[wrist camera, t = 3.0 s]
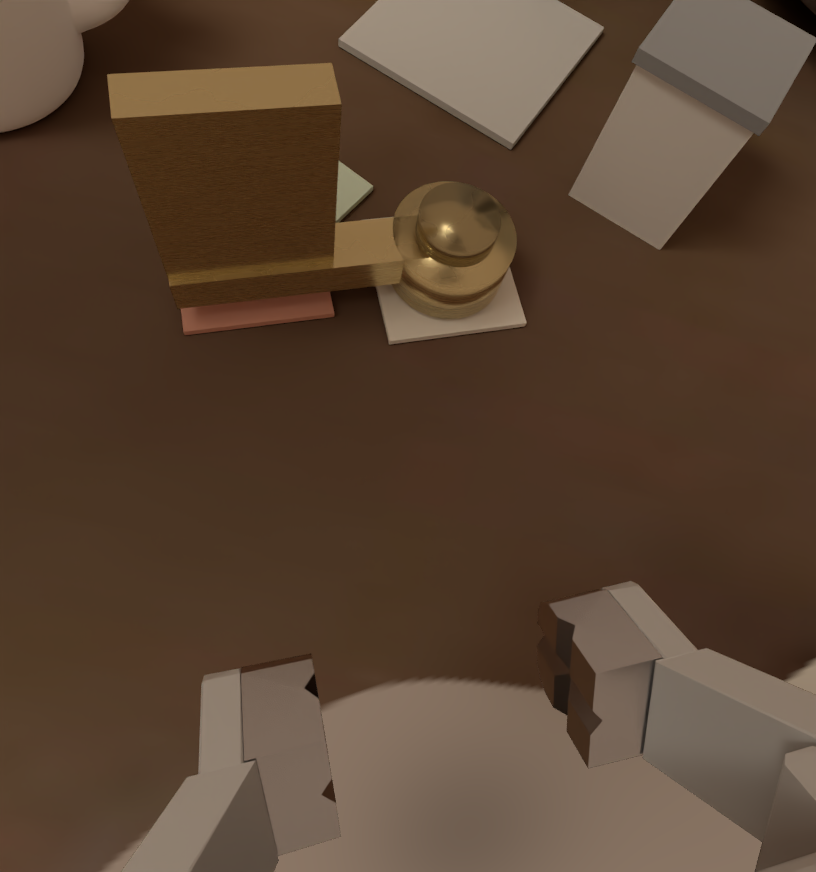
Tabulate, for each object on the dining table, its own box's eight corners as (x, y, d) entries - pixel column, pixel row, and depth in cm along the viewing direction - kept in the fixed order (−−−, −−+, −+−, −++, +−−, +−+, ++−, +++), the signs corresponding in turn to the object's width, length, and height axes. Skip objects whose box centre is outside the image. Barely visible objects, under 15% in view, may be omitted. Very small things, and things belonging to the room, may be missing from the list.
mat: (510, 149, 32) (513, 143, 32) (338, 46, 33) (338, 38, 33) (601, 34, 36) (604, 27, 36) (443, -58, 37) (444, -65, 37)
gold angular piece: (485, 214, 30) (560, 8, 21) (514, 311, 29) (609, 135, 20) (172, 244, 28) (102, 25, 18) (185, 353, 26) (116, 173, 17)
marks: (416, 488, 26) (417, 485, 26) (98, 278, 27) (96, 274, 27) (568, 260, 31) (571, 256, 30) (291, 90, 32) (291, 84, 32)
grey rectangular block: (661, 255, 32) (769, 123, 24) (562, 195, 32) (638, 47, 25) (705, 182, 34) (817, 38, 26) (611, 126, 34) (696, -30, 26)
